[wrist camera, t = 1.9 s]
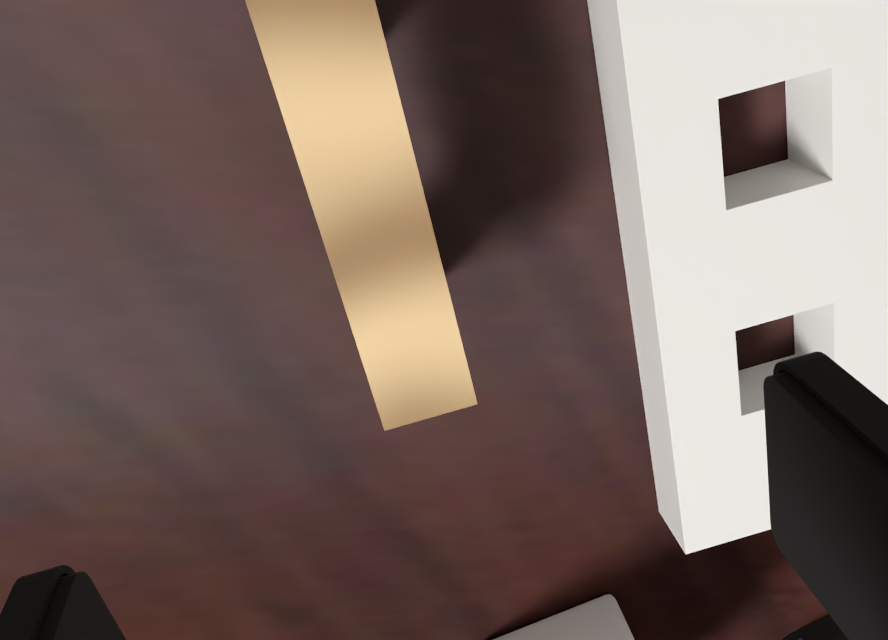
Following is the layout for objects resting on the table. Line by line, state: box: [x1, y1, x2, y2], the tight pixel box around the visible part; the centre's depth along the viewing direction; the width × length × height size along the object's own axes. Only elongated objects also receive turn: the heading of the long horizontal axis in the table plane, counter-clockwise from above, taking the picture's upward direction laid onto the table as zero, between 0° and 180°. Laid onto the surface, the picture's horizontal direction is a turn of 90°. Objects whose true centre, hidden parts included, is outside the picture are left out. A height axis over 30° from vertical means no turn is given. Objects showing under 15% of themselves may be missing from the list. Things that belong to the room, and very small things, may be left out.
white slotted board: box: [587, 0, 888, 554], centre depth 31 cm, size 26×10×3 cm, turn 13°
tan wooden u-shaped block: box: [245, 0, 477, 431], centre depth 26 cm, size 13×3×8 cm, turn 13°
